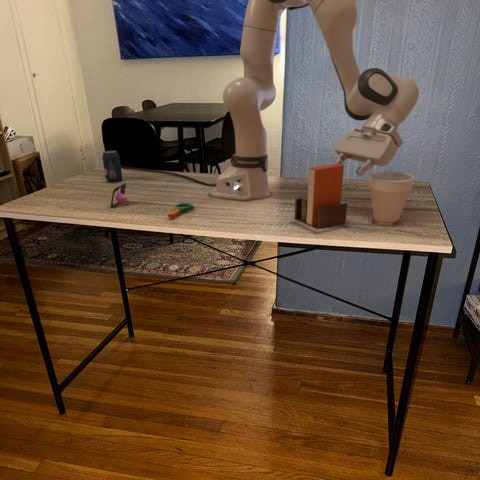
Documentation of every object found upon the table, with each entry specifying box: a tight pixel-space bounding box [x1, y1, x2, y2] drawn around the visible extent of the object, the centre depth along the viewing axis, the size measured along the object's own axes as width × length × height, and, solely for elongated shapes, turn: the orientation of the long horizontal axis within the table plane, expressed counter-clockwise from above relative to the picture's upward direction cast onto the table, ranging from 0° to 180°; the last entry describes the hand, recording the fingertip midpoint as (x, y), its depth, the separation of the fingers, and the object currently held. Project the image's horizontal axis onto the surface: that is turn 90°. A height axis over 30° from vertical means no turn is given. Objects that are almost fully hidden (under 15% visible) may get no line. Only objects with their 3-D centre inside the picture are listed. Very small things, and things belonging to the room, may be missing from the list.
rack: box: [293, 196, 348, 230], centre depth 136 cm, size 12×11×8 cm
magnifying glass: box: [167, 202, 194, 219], centre depth 151 cm, size 15×6×2 cm, turn 164°
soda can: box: [101, 150, 123, 184], centre depth 192 cm, size 7×7×12 cm
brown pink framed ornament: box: [110, 183, 130, 208], centre depth 161 cm, size 7×5×9 cm
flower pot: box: [368, 171, 415, 223], centre depth 135 cm, size 12×12×14 cm
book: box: [306, 163, 345, 227], centre depth 132 cm, size 3×10×16 cm, turn 119°
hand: (347, 171), depth 133 cm, fingers open, 8 cm apart
